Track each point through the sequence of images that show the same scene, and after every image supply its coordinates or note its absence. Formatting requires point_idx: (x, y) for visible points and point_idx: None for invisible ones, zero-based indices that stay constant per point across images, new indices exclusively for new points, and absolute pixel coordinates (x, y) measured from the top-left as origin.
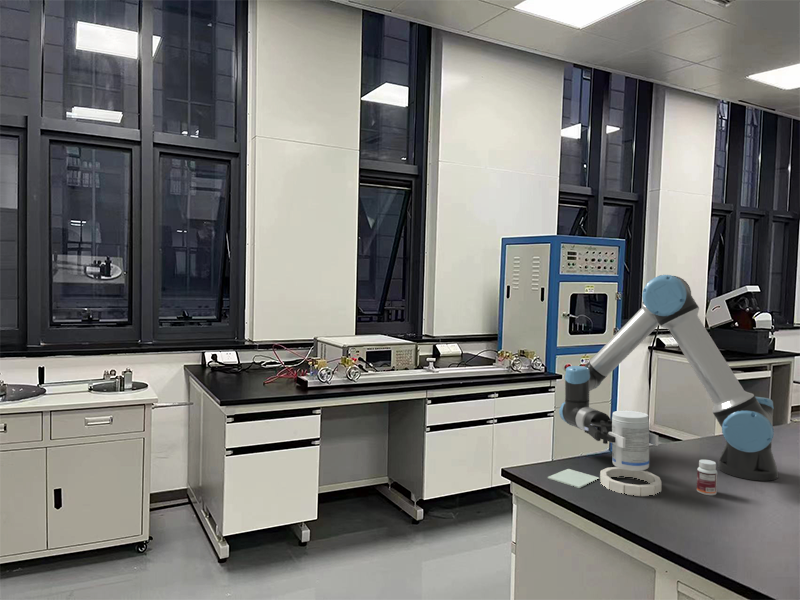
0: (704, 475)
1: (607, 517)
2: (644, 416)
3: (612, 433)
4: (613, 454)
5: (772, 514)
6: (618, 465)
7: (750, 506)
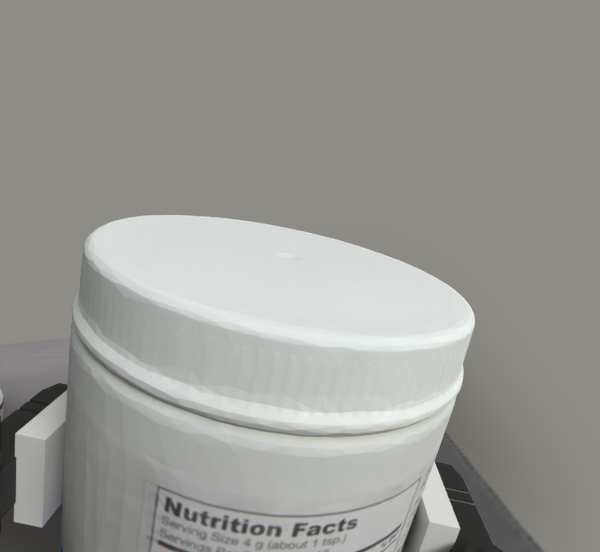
0: (2, 409)
1: (483, 493)
2: (248, 223)
3: (437, 475)
4: None
5: (44, 359)
6: None
7: (17, 389)
